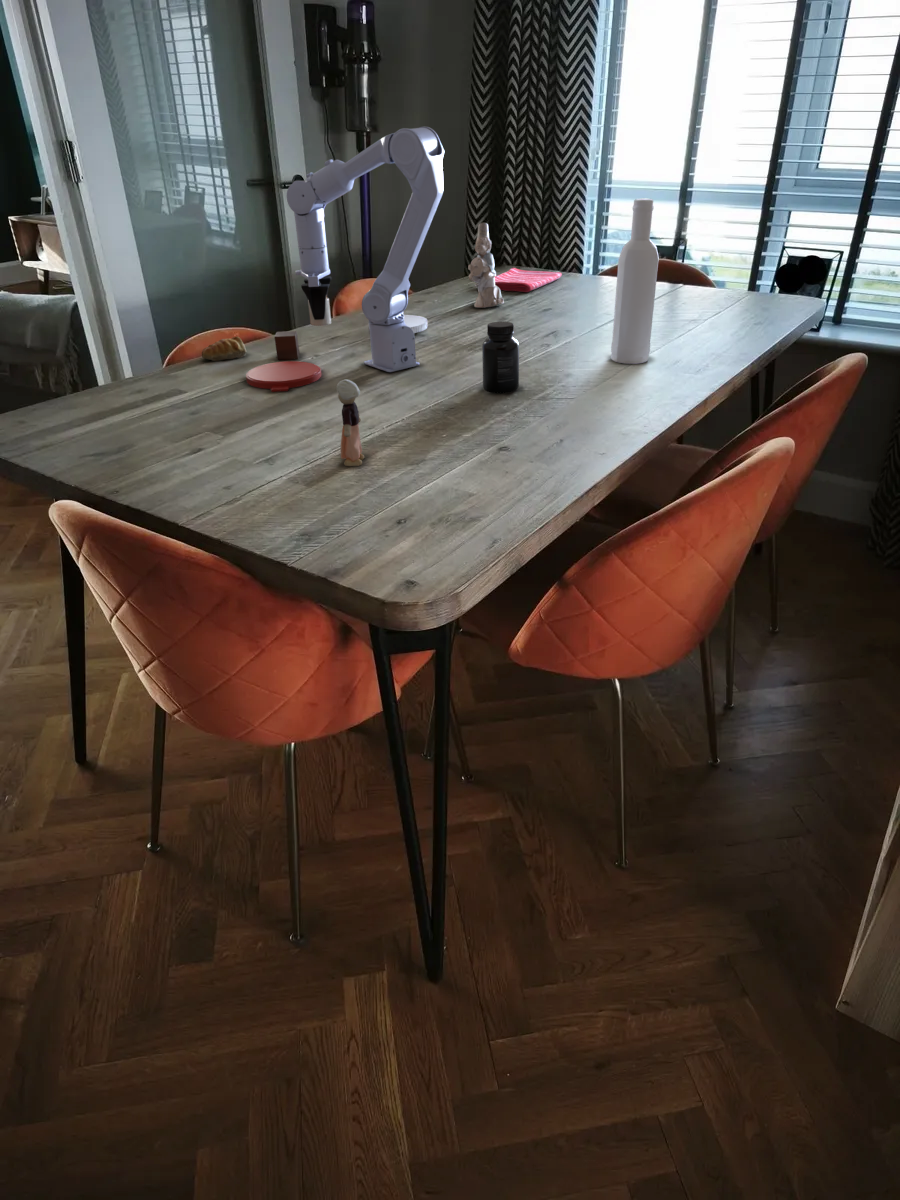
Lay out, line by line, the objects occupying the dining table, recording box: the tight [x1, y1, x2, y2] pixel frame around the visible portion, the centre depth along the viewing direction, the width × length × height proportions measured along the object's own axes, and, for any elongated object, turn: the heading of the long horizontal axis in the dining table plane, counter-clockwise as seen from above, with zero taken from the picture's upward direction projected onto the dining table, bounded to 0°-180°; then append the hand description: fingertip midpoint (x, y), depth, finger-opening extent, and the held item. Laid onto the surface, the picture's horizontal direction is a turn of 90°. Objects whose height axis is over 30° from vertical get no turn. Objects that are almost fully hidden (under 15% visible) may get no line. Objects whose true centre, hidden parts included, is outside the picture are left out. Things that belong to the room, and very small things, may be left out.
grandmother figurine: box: [336, 379, 365, 467], centre depth 120 cm, size 8×4×13 cm, turn 5°
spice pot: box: [307, 294, 332, 327], centre depth 168 cm, size 4×4×6 cm
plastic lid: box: [367, 314, 428, 334], centre depth 192 cm, size 14×14×2 cm
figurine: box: [467, 222, 505, 309], centre depth 209 cm, size 9×8×20 cm
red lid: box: [245, 360, 322, 393], centre depth 161 cm, size 17×15×1 cm
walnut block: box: [274, 330, 300, 361], centre depth 175 cm, size 4×4×5 cm
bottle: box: [610, 197, 660, 365], centre depth 159 cm, size 8×8×30 cm
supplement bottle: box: [481, 321, 520, 395], centre depth 149 cm, size 7×7×12 cm
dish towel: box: [495, 267, 563, 293], centre depth 237 cm, size 17×24×3 cm
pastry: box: [201, 336, 247, 362], centre depth 176 cm, size 9×7×4 cm
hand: (320, 316), depth 169 cm, fingers closed on spice pot, 4 cm apart
